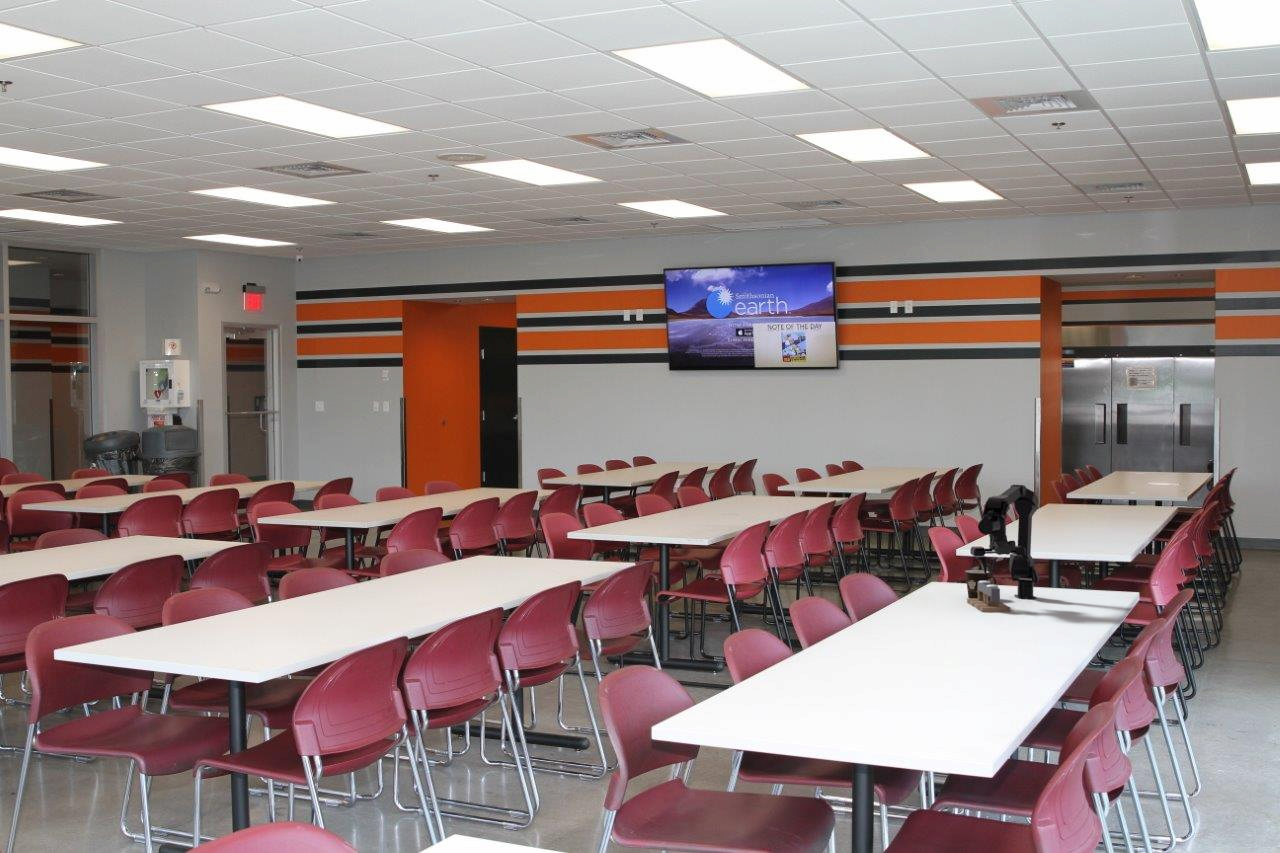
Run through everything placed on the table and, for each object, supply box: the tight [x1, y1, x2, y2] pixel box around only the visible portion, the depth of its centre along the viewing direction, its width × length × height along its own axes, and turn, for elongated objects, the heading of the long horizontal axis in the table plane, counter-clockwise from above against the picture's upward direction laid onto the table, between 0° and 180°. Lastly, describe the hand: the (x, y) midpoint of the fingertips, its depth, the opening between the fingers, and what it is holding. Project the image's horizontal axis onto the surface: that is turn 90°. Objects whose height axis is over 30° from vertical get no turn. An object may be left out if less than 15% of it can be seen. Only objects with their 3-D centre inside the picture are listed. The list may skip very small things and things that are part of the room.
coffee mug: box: [964, 569, 997, 599], centre depth 459 cm, size 12×9×10 cm
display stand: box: [966, 591, 1011, 613], centre depth 440 cm, size 20×10×5 cm, turn 0°
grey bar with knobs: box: [978, 580, 1001, 602], centre depth 440 cm, size 18×4×5 cm, turn 0°
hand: (998, 574), depth 442 cm, fingers open, 9 cm apart
